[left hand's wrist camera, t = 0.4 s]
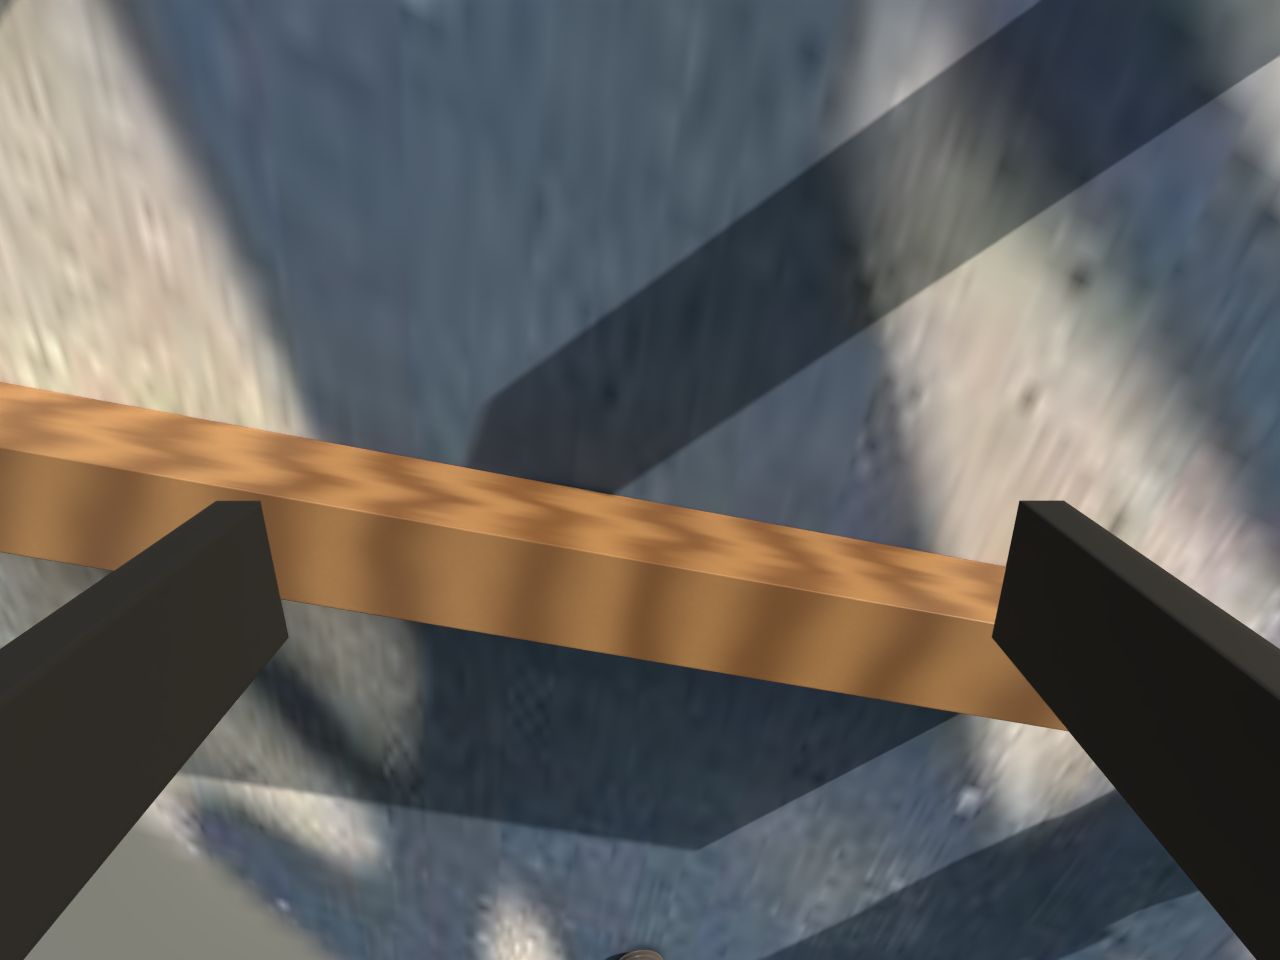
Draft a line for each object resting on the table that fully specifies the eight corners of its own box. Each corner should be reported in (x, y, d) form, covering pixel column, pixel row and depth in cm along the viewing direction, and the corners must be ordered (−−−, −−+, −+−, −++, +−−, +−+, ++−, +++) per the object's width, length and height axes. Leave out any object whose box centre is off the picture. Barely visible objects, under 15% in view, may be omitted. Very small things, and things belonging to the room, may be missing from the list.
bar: (-45, 465, 41) (-192, 520, 34) (-60, 370, 39) (-219, 407, 32) (1065, 659, 46) (1145, 744, 38) (1102, 584, 44) (1194, 658, 36)
